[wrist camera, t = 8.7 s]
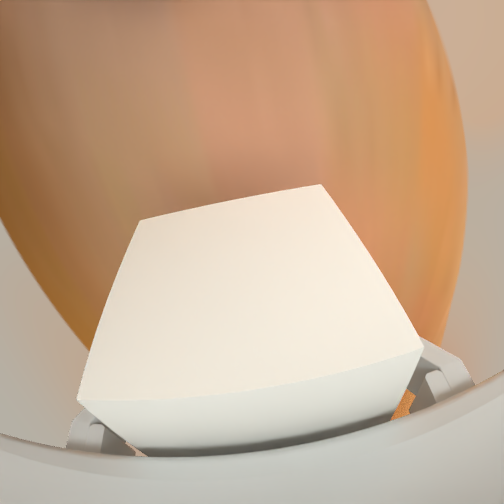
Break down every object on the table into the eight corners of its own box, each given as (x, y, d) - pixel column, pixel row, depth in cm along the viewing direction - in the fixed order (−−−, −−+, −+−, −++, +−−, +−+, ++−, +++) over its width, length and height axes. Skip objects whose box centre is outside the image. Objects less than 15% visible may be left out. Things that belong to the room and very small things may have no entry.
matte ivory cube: (139, 220, 11) (76, 399, 5) (320, 184, 11) (424, 346, 5) (191, 337, 15) (186, 480, 9) (326, 313, 15) (371, 452, 9)
